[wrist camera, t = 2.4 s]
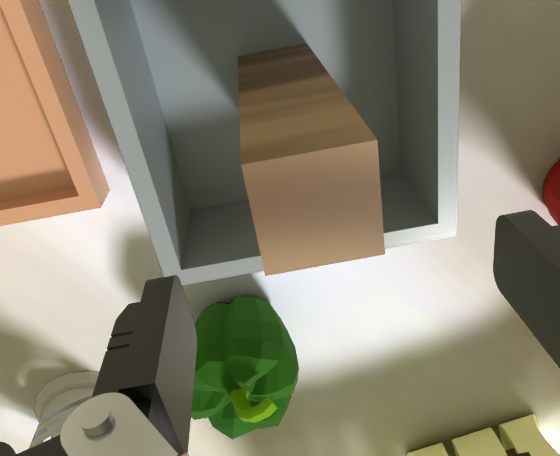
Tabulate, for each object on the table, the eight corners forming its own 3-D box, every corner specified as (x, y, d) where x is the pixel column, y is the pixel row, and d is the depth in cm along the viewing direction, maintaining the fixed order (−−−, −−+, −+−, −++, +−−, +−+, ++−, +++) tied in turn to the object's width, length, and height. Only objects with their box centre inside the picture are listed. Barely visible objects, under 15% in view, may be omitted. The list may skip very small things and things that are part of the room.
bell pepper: (206, 371, 42) (199, 484, 33) (169, 297, 37) (149, 403, 29) (303, 345, 41) (322, 453, 32) (275, 267, 37) (288, 366, 28)
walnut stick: (237, 56, 28) (241, 165, 14) (307, 43, 28) (377, 139, 14) (251, 123, 30) (265, 275, 16) (315, 111, 30) (385, 254, 16)
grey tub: (102, -44, 26) (54, -39, 19) (402, -101, 26) (463, -117, 19) (181, 218, 34) (167, 288, 27) (411, 176, 34) (456, 235, 27)
